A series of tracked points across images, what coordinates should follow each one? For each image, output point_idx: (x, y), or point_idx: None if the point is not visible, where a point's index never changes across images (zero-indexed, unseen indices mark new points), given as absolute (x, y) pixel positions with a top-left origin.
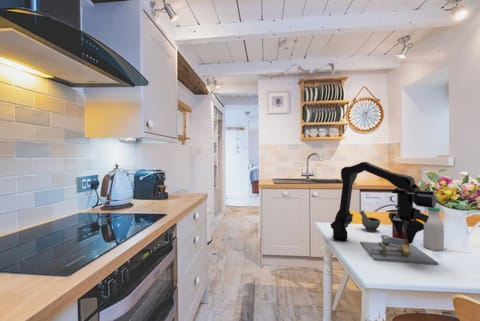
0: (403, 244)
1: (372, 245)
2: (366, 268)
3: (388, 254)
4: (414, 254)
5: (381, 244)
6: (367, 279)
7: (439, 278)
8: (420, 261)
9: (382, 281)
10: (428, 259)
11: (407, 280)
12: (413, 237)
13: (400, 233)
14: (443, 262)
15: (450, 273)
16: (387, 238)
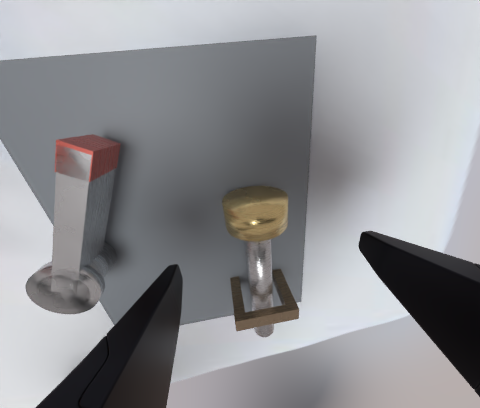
0: (106, 180)
1: None
2: (355, 311)
3: None
4: (213, 138)
5: (272, 323)
6: None
7: (439, 121)
8: (309, 143)
9: None
10: (275, 80)
11: (430, 233)
12: (457, 265)
13: (176, 291)
14: None
15: (406, 28)
16: (97, 280)
